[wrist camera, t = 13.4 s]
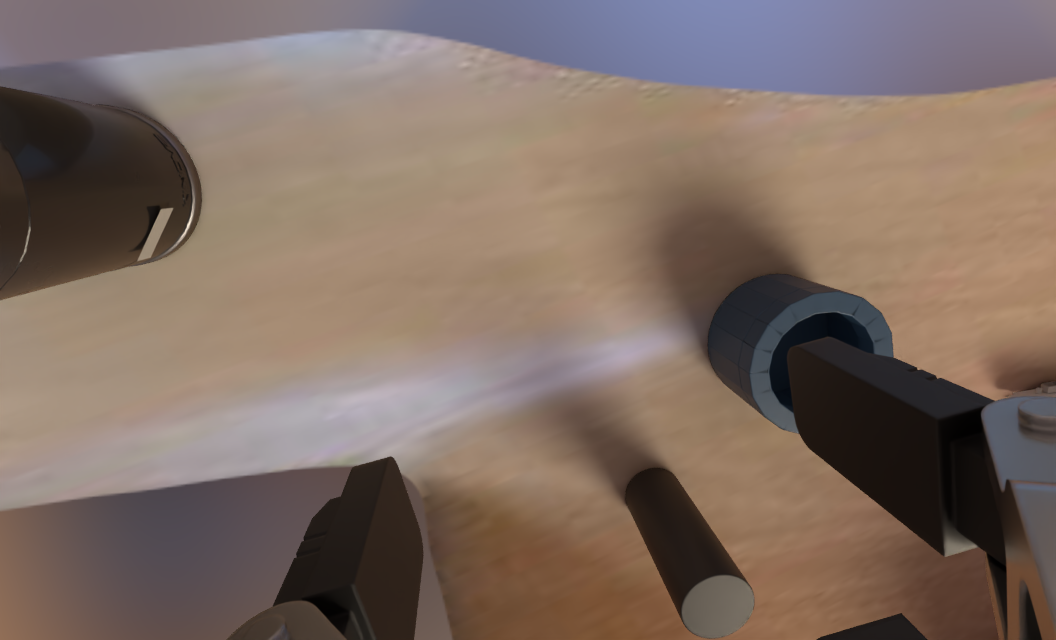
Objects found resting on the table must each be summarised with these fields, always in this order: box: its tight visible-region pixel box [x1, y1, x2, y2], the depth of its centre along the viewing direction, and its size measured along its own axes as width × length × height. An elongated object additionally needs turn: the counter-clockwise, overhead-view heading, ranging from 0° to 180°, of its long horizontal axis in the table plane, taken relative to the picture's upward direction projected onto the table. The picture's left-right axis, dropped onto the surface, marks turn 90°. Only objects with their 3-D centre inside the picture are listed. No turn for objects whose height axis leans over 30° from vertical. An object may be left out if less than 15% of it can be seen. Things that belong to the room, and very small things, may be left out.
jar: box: [708, 274, 894, 433], centre depth 38 cm, size 9×10×6 cm
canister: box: [625, 468, 754, 638], centre depth 38 cm, size 4×4×12 cm
